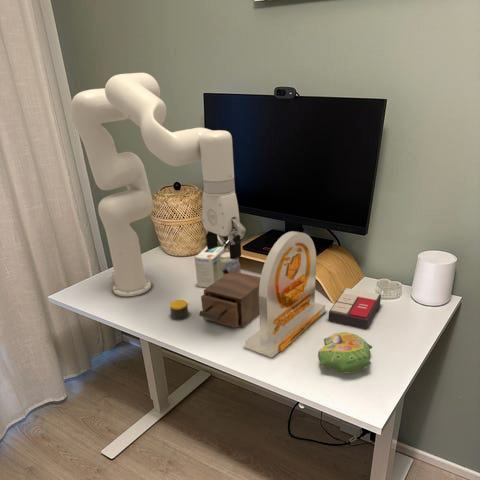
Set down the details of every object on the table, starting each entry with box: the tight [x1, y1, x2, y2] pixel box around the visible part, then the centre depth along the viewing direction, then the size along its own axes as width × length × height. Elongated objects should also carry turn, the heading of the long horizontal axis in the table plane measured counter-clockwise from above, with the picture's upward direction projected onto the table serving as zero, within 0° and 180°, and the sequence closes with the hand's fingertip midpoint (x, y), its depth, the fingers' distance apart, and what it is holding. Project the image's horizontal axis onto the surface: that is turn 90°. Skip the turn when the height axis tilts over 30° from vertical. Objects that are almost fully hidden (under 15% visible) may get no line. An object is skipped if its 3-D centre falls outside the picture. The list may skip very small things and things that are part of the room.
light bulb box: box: [194, 245, 226, 288], centre depth 152 cm, size 11×7×11 cm, turn 160°
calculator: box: [328, 287, 382, 330], centre depth 131 cm, size 11×4×15 cm
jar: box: [169, 299, 189, 321], centre depth 134 cm, size 5×5×4 cm
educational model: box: [317, 331, 373, 374], centre depth 111 cm, size 13×16×5 cm
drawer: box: [198, 294, 240, 329], centre depth 130 cm, size 18×11×7 cm, turn 148°
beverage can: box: [220, 251, 242, 276], centre depth 147 cm, size 6×7×12 cm
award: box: [244, 230, 326, 359], centre depth 119 cm, size 28×9×28 cm, turn 143°
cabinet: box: [203, 271, 261, 328], centre depth 134 cm, size 15×13×9 cm
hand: (224, 252), depth 118 cm, fingers open, 9 cm apart
